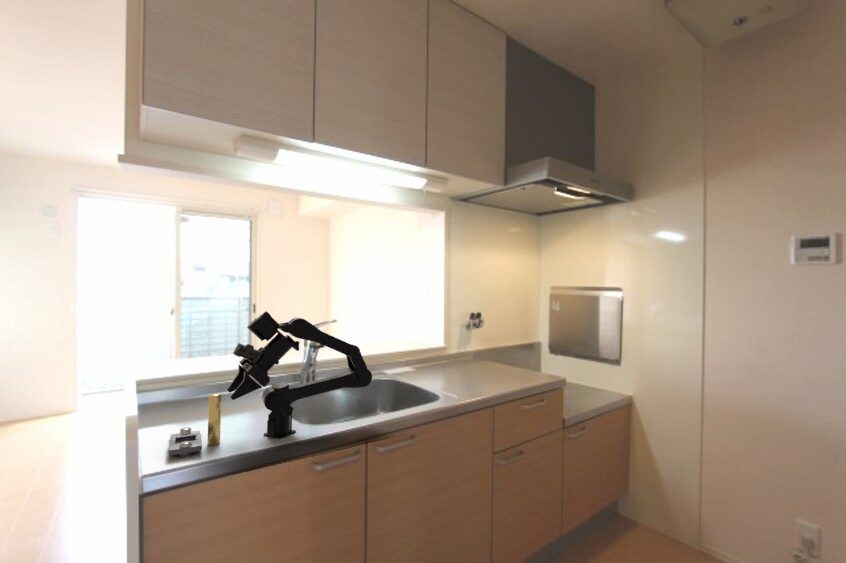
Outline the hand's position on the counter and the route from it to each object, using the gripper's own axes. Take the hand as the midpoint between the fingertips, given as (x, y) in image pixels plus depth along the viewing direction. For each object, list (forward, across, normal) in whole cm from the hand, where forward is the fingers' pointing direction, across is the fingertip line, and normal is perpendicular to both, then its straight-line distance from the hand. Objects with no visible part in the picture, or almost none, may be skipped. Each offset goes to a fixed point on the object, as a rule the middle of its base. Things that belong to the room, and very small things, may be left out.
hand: (230, 395), depth 109 cm
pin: (+12, 0, +6) cm, 13 cm away
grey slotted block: (+16, -1, +2) cm, 16 cm away
